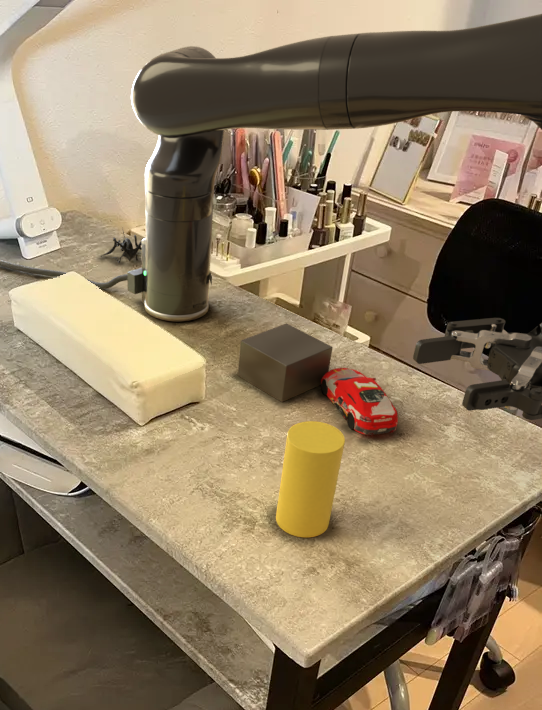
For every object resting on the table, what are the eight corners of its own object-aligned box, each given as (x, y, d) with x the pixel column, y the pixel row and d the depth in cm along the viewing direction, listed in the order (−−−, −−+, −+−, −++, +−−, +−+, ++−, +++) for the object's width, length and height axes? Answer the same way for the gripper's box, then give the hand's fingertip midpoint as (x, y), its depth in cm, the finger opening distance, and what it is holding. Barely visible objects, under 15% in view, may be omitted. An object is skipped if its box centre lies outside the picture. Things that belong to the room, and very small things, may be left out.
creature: (96, 260, 129) (110, 267, 123) (93, 227, 127) (107, 232, 120) (140, 254, 132) (156, 261, 125) (138, 221, 129) (154, 226, 123)
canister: (264, 516, 76) (275, 433, 70) (301, 497, 79) (315, 414, 73) (302, 545, 73) (317, 460, 67) (339, 523, 76) (357, 439, 69)
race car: (314, 384, 97) (318, 355, 94) (354, 380, 98) (359, 351, 95) (356, 442, 87) (362, 412, 84) (400, 437, 88) (408, 407, 85)
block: (237, 375, 98) (240, 340, 95) (282, 357, 102) (286, 323, 99) (281, 402, 93) (286, 365, 90) (327, 382, 97) (333, 346, 94)
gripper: (557, 285, 75) (409, 302, 72) (666, 352, 65) (498, 376, 61) (534, 354, 80) (393, 373, 77) (632, 427, 69) (473, 453, 66)
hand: (440, 374), depth 69 cm, fingers open, 8 cm apart
